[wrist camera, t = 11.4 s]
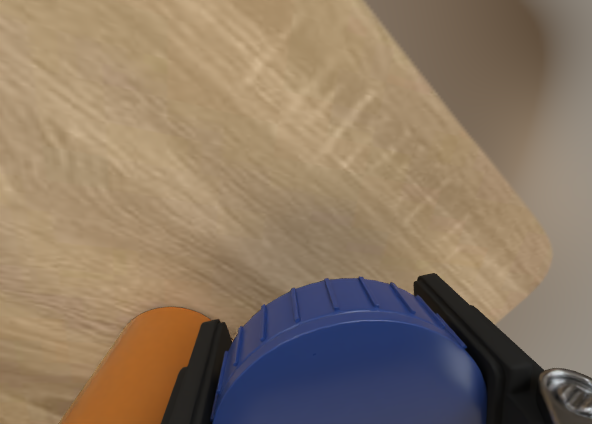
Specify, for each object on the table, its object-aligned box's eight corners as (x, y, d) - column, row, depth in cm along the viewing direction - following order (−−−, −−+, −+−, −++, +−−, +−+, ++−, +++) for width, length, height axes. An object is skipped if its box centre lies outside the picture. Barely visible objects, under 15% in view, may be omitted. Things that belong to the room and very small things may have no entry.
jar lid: (208, 282, 7) (189, 329, 5) (467, 268, 8) (520, 307, 6) (230, 466, 9) (221, 541, 7) (432, 445, 10) (464, 510, 8)
